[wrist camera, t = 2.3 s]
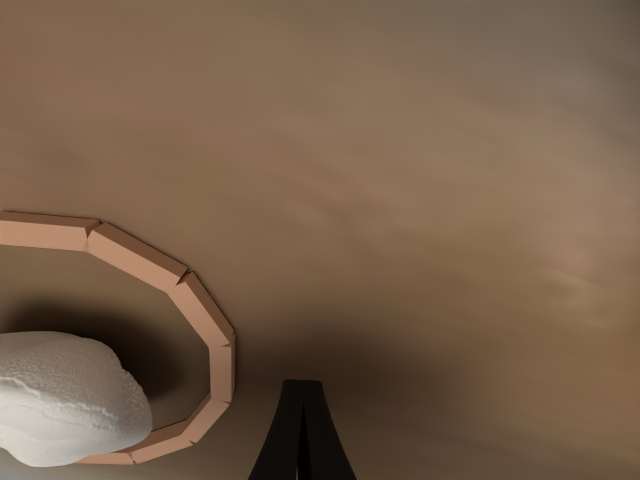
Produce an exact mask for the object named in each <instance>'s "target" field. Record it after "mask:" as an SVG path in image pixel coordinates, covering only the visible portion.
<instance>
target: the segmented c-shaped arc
mask: <svg viewBox="0 0 640 480" xmlns="http://www.w3.org/2000/svg"><path fill="white" fill-rule="evenodd" d="M0 244H4V245H16V246H28V247H40V248H52V249H65V250H77V251H86V252H88V253H90V254H92V255H94V256H96V257H98V258H100V259H102V260H104V261H106V262H108V263H110V264H112V265H114V266H115V267H117V268H119V269H121V270H123V271H125V272H127V273H129V274H131V275H133V276H135V277H137V278H139V279H141V280H143V281H145V282H146V283H148V284H150V285H152V286H154V287H156V288H158V289H160V290H162V291H164V292H166V293H167V294H168V295H169V297H170V298H171V299H172V301H173V302H174V303H175V304H176V306H177V307H178V308H179V310H180V311H181V312H182V314H183V315H184V316H185V317H186V319H187V320H188V321H189V323H190V324H191V325H192V326H193V328H194V329H195V330H196V332H197V333H198V334H199V336H200V337H201V338H202V339H203V341H204V342H205V343H206V345H207V346H208V347H209V355H210V383H211V391H210V392H209V393H208V394H207V396H206V397H205V398H204V399H203V401H202V402H201V403H200V404H199V405H198V407H197V408H196V409H195V410H194V411H193V413H192V414H191V415H190V416H189V418H188V419H187V420H185V421H182V422H179V423H176V424H173V425H170V426H168V427H165V428H162V429H159V430H156V431H153V432H151V433H150V434H149V435H148V436H147V437H146V438H145V439H144V440H142V441H141V442H139V443H137V444H135V445H133V446H130V447H127V448H124V449H121V450H118V451H114V452H110V453H104V454H98V455H89V456H87V457H84V458H82V459H80V460H78V461H76V462H74V463H97V464H134V463H135V462H136V463H138V464H139V463H142V462H145V461H148V460H150V459H153V458H156V457H159V456H162V455H165V454H168V453H171V452H174V451H177V450H180V449H183V448H186V447H189V446H192V445H193V444H194V442H195V443H197V442H198V441H199V439H200V438H201V437H202V436H203V435H204V434H205V433H206V431H207V430H208V429H209V428H210V427H211V426H212V425H213V424H214V422H215V421H216V420H217V419H218V418H219V417H220V416H221V414H222V413H223V412H224V411H225V410H226V409H227V408H228V406H229V405H230V402H231V400H232V396H233V392H234V388H235V334H233V331H234V330H233V328H232V327H231V325H230V324H229V323H228V321H227V320H226V318H225V317H224V315H223V314H222V313H221V311H220V310H219V308H218V307H217V305H216V304H215V303H214V301H213V300H212V298H211V297H210V295H209V294H208V293H207V291H206V290H205V288H204V287H203V286H202V284H201V283H200V281H199V280H198V278H197V277H196V276H195V274H194V273H193V271H192V272H190V273H187V274H185V275H184V273H185V271H186V270H187V268H188V267H186V266H185V265H183V264H181V263H179V262H177V261H176V260H174V259H172V258H170V257H168V256H167V255H165V254H163V253H161V252H159V251H157V250H156V249H154V248H152V247H150V246H148V245H147V244H145V243H143V242H141V241H139V240H138V239H136V238H134V237H132V236H130V235H129V234H127V233H125V232H123V231H121V230H119V229H118V228H116V227H114V226H112V225H110V224H109V223H107V222H105V223H103V224H102V225H100V221H99V220H95V219H84V218H73V217H62V216H51V215H40V214H29V213H18V212H7V211H1V212H0Z"/></svg>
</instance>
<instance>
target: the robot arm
mask: <svg viewBox="0 0 640 480" xmlns="http://www.w3.org/2000/svg"><path fill="white" fill-rule="evenodd" d="M296 471H298V480H357V479H356V477H355V475H354V472H353V470H352V468H351V466H350V463H349V461H348V459H347V457H346V454H345V452H344V449H343V447H342V445H341V442H340V439H339V437H338V434H337V432H336V429H335V426H334V424H333V421H332V418H331V415H330V412H329V409H328V405H327V402H326V398H325V395H324V390H323V386H322V383H321V382H320V381H312V380H292V379H286V380H284V381H283V386H282V392H281V396H280V400H279V404H278V407H277V410H276V413H275V416H274V419H273V422H272V424H271V427H270V430H269V432H268V435H267V438H266V440H265V443H264V445H263V447H262V450H261V452H260V454H259V456H258V459H257V461H256V463H255V466H254V468H253V470H252V472H251V474H250V476H249V478H248V480H296Z"/></svg>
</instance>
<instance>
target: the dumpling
mask: <svg viewBox="0 0 640 480" xmlns="http://www.w3.org/2000/svg"><path fill="white" fill-rule="evenodd" d="M121 368H122V366H121V365H120V362H119V358H118V357H117V356H116V354H115V353H113V350H112V349H110V347H109V346H106V345H105V344H103V343H102V342H99V341H97V340H94V339H88V338H81V337H79V336H76V335H72V334H69V333H64V332H54V331H30V332H16V333H6V334H0V447H1V448H5V449H6V450H8V451H9V453H10V454H12V455H13V456H14V457H15V458H16V459H18V460H19V461H21V462H22V463H24V464H27V465H30V466H32V467H35V466H36V467H52V466H60V465H67V464H70V463H74V462H76V461H78V460H80V459H82V458H84V457H87V456H89V455H98V454H104V453H110V452H114V451H118V450H121V449H124V448H127V447H130V446H133V445H135V444H137V443H139V442H141V441H142V440H144V439H145V438H146V437H147V436H148V435H149V434H150V432H151V430H152V416H151V410H150V407H149V405H150V404H149V403H148V401H147V397H146V396H145V395H144V393H143V389H142V387H141V386H140V385H139V384H137V382H136V380H134V378H133V376H132V375H131V374H130V373H129V372H128V371H125V370H124V369H121Z"/></svg>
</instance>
